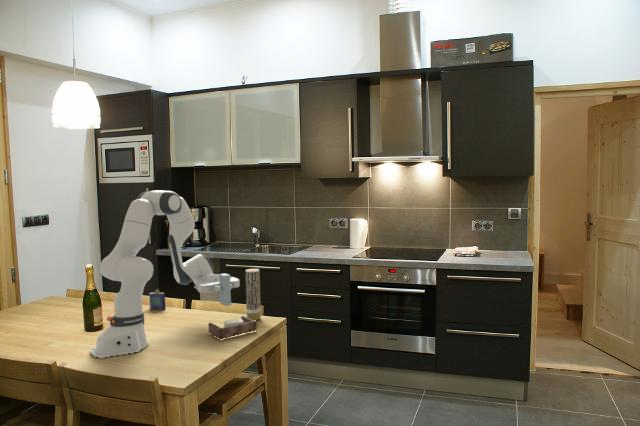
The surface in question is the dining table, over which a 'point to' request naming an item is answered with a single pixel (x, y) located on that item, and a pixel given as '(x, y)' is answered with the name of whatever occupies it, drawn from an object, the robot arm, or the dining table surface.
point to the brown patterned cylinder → (253, 294)
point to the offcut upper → (232, 322)
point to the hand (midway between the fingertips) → (225, 288)
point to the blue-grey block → (225, 289)
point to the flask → (157, 300)
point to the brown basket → (233, 328)
